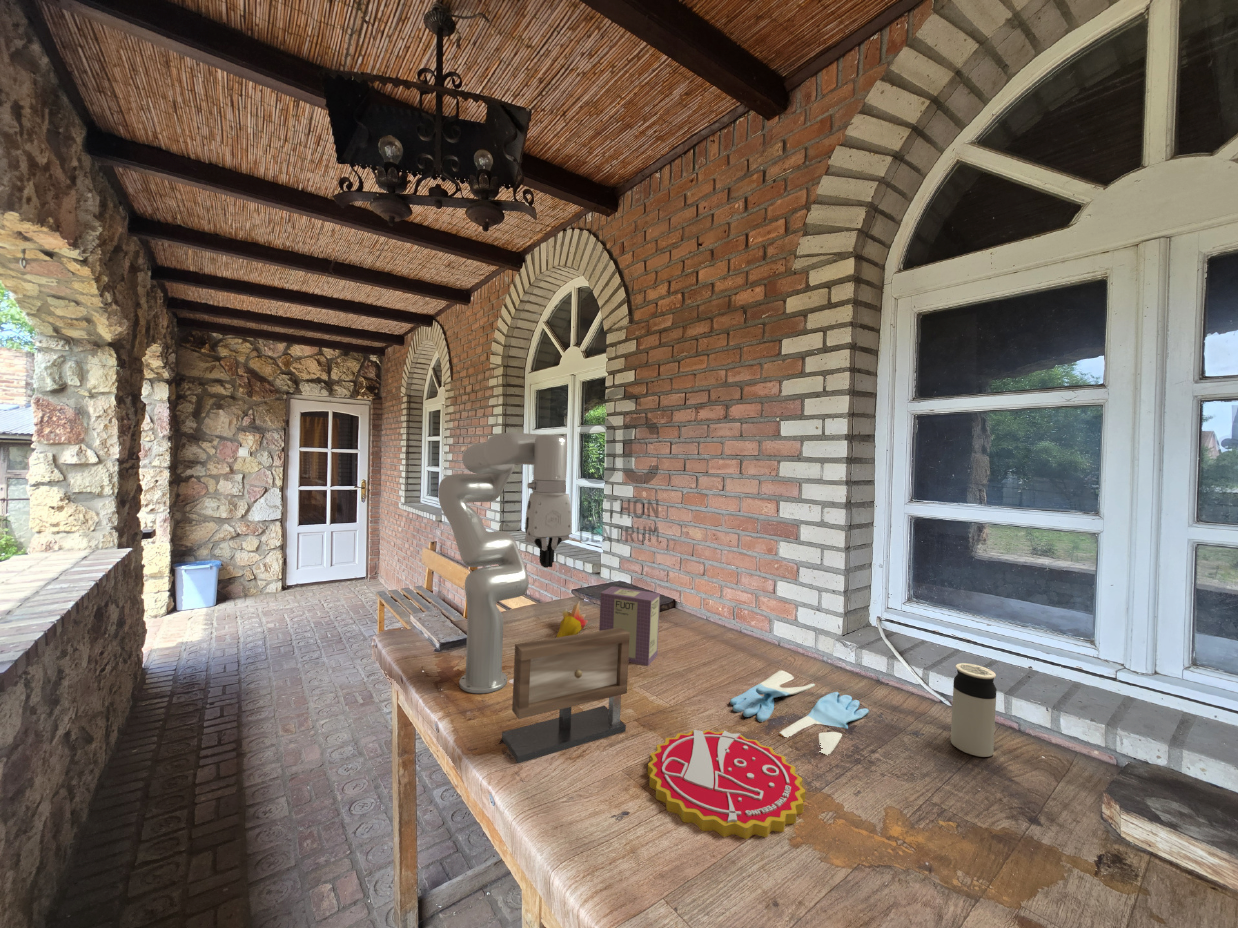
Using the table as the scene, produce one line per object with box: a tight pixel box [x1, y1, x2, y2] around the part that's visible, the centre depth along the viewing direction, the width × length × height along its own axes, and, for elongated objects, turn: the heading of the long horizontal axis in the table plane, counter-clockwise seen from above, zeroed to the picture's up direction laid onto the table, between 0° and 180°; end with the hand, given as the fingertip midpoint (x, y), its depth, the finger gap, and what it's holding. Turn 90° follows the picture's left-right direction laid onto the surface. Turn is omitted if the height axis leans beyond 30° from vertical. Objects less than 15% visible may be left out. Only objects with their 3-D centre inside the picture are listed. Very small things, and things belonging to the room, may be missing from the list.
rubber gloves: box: [729, 669, 870, 757], centre depth 130 cm, size 27×33×6 cm
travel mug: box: [950, 662, 997, 758], centre depth 115 cm, size 8×8×18 cm
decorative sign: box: [647, 729, 806, 840], centre depth 100 cm, size 30×3×30 cm
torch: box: [555, 600, 589, 638], centre depth 175 cm, size 8×8×25 cm
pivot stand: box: [501, 695, 627, 764], centre depth 113 cm, size 10×26×16 cm, turn 121°
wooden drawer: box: [511, 628, 630, 720], centre depth 110 cm, size 5×26×14 cm, turn 121°
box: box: [598, 585, 661, 667], centre depth 160 cm, size 17×9×20 cm, turn 68°
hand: (546, 566), depth 117 cm, fingers closed
